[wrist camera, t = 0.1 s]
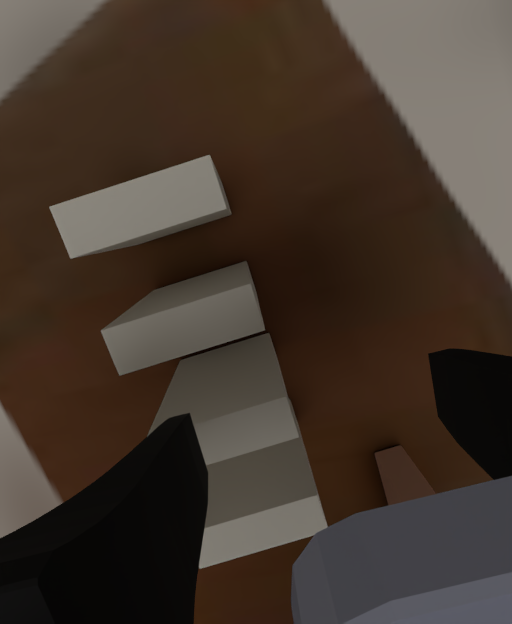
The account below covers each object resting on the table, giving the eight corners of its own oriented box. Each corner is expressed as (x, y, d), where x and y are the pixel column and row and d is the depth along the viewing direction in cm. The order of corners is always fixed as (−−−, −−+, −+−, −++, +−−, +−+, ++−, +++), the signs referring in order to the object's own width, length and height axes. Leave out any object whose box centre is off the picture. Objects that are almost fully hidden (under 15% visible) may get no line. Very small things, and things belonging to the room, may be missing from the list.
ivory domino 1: (231, 214, 20) (226, 208, 12) (136, 245, 20) (70, 258, 12) (221, 182, 19) (209, 154, 12) (125, 213, 20) (49, 207, 12)
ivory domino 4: (297, 423, 22) (328, 530, 15) (213, 449, 23) (199, 569, 15) (290, 398, 22) (317, 494, 14) (204, 424, 22) (185, 534, 14)
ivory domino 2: (255, 290, 21) (265, 330, 13) (164, 318, 21) (119, 375, 13) (246, 260, 20) (250, 283, 12) (153, 289, 20) (100, 330, 13)
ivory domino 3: (277, 359, 22) (299, 437, 14) (190, 386, 22) (162, 478, 14) (269, 332, 21) (286, 396, 13) (180, 360, 21) (145, 439, 14)
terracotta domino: (400, 445, 23) (483, 558, 15) (418, 515, 24) (504, 655, 16) (374, 453, 23) (442, 570, 15) (393, 523, 24) (466, 666, 16)
